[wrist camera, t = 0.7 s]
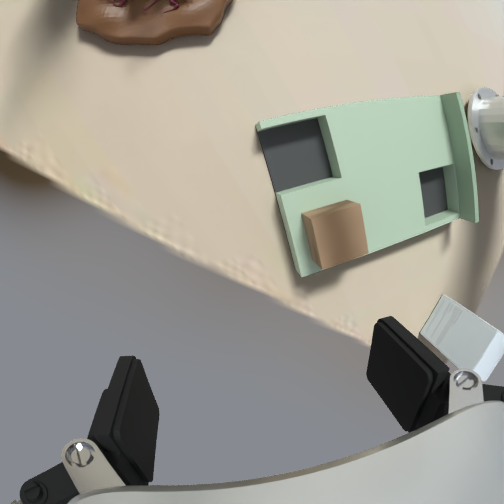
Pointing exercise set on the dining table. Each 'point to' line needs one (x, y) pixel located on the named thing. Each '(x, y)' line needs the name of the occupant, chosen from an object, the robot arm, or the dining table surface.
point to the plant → (149, 19)
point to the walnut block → (335, 233)
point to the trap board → (373, 167)
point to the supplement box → (464, 337)
